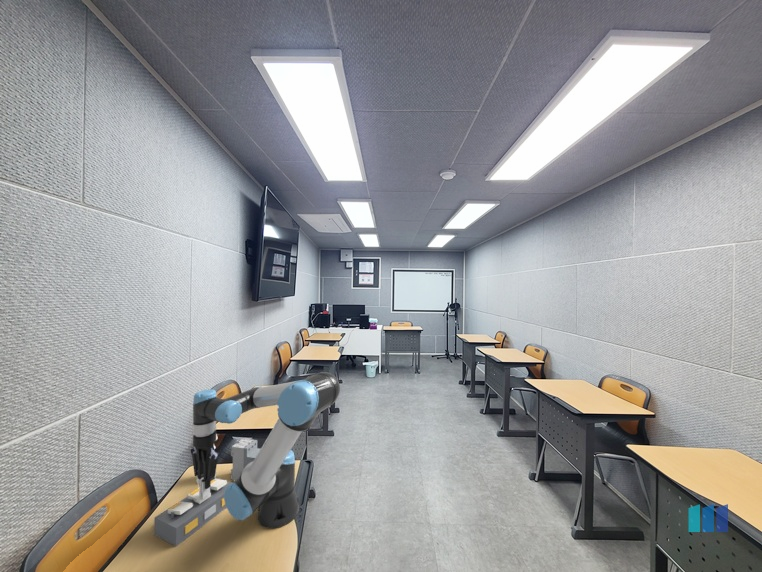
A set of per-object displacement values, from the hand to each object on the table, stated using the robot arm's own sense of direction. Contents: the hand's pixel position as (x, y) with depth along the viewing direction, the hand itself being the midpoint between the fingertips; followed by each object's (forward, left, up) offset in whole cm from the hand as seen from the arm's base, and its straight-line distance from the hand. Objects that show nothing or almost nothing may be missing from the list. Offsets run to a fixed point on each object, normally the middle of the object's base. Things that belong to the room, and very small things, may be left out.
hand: (204, 495), depth 109 cm
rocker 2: (+3, 0, -1) cm, 3 cm away
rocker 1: (+3, +7, -1) cm, 8 cm away
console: (+3, 0, -8) cm, 9 cm away
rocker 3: (+3, -7, -1) cm, 8 cm away
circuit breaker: (+4, -25, -9) cm, 27 cm away
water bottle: (+21, -16, -9) cm, 28 cm away
